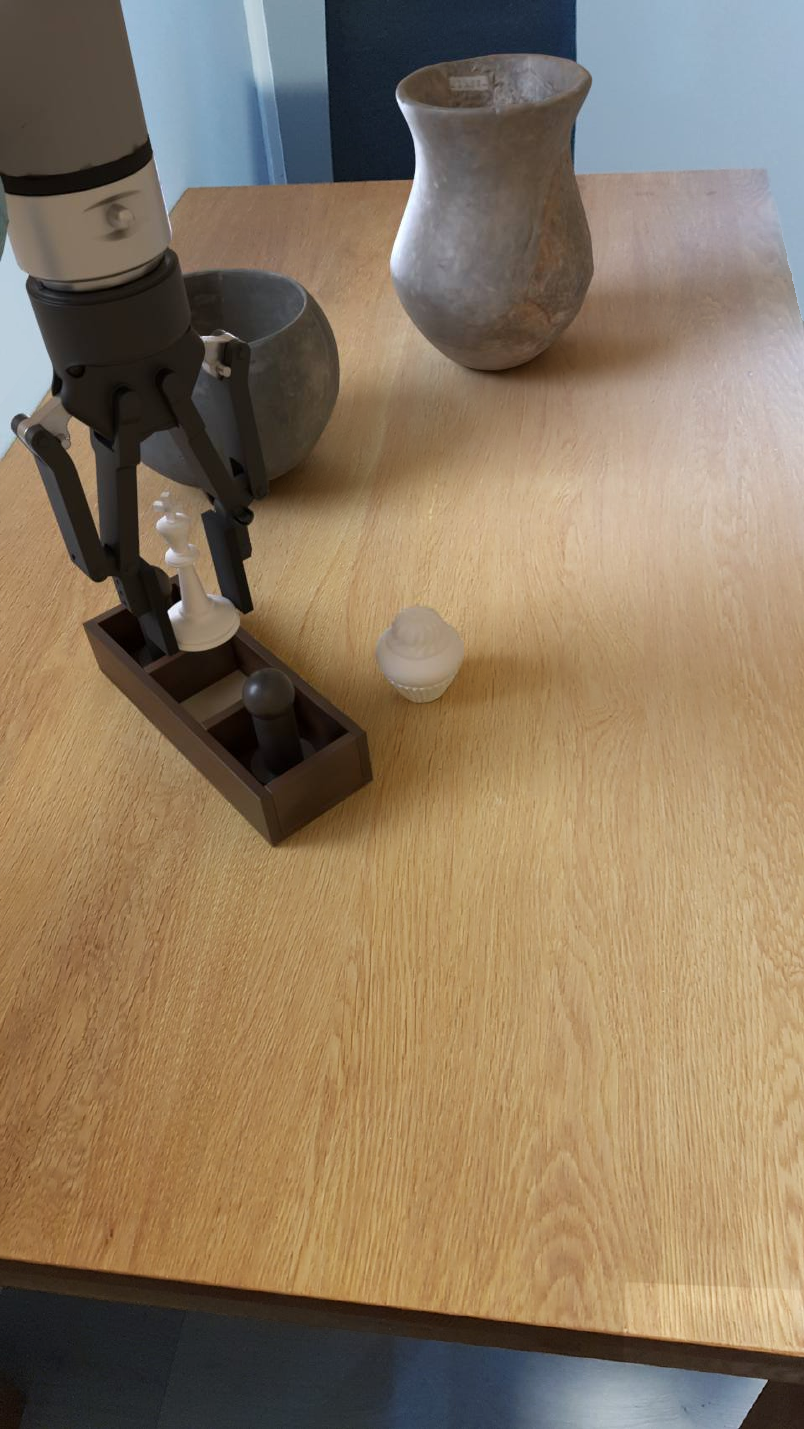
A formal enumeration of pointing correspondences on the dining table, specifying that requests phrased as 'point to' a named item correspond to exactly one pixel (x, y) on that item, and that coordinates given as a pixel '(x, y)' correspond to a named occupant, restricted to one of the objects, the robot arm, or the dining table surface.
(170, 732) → the rack
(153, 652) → the ebony piece
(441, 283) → the vase
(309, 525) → the dining table surface
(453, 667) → the muffin
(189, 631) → the chess piece
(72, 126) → the robot arm
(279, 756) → the ebony piece
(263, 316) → the bowl
